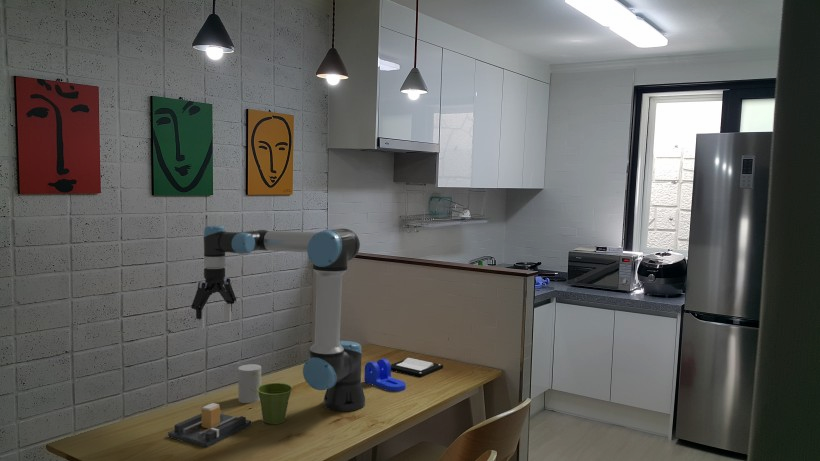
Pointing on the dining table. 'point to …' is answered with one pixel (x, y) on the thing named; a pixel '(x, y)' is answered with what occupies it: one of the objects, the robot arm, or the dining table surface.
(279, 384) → the plant pot
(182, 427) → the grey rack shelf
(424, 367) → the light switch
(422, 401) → the dining table surface
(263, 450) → the dining table surface
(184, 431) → the panel
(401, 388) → the bracket
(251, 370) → the white cylinder
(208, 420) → the orange white block
